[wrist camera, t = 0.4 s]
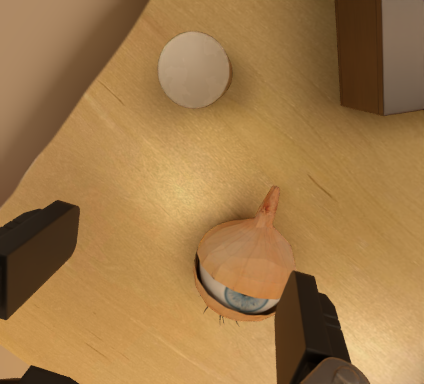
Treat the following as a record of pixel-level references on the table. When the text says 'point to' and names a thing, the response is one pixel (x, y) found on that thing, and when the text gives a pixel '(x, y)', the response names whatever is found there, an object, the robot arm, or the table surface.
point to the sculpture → (244, 265)
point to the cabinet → (381, 55)
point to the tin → (194, 70)
